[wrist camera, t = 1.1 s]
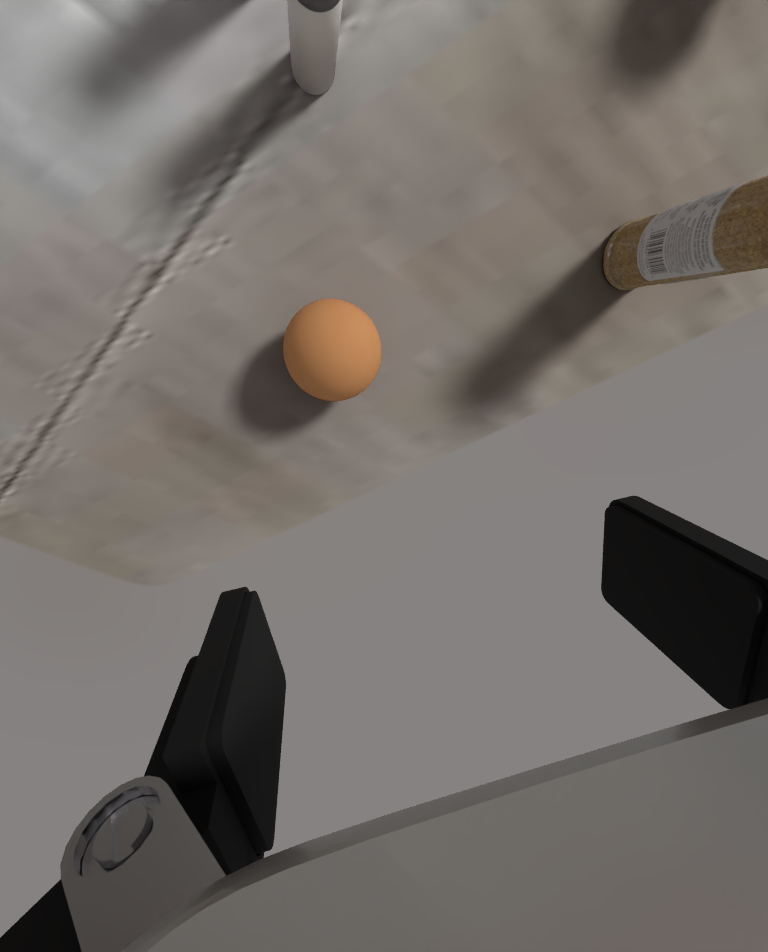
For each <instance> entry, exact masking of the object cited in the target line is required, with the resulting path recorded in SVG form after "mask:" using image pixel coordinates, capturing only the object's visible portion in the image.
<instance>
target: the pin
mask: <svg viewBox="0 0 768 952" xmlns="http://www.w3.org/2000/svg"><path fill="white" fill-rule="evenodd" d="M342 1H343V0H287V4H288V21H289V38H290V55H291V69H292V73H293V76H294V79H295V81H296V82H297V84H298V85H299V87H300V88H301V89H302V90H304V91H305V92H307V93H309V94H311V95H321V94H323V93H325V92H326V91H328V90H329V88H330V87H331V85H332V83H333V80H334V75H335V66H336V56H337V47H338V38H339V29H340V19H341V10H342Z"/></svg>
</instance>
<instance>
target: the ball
mask: <svg viewBox="0 0 768 952" xmlns="http://www.w3.org/2000/svg"><path fill="white" fill-rule="evenodd" d="M283 354H284V360H285V364H286V367H287V369H288V371H289V373H290V375H291V377H292V379H293V380H294V381H295V382H296V384H297V385H298V386H299V387H300V388H301V389H303V390H304V391H305V392H306V393H308V394H310V395H311V396H314V397H316V398H318V399H322V400H327V401H342V400H346V399H349V398H352V397H354V396H356V395H358V394H360V393H361V392H362V391H364V390H365V389H366V388H367V387H368V386H369V385H370V383H371V382H372V381H373V379H374V378H375V376H376V374H377V371H378V369H379V365H380V361H381V343H380V338H379V335H378V332H377V330H376V328H375V326H374V324H373V322H372V321H371V319H370V318H369V317H368V316H367V315H366V314H365V313H364V312H363V311H362V310H361V309H359V308H358V307H356V306H355V305H353V304H351V303H349V302H346V301H343V300H338V299H323V300H318V301H315V302H312V303H310V304H308V305H306V306H305V307H303V308H302V309H301V310H299V311H298V312H297V313H296V314H295V316H294V317H293V318H292V320H291V321H290V323H289V325H288V327H287V329H286V332H285V336H284V342H283Z"/></svg>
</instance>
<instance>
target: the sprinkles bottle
mask: <svg viewBox="0 0 768 952" xmlns="http://www.w3.org/2000/svg"><path fill="white" fill-rule="evenodd" d="M603 267H604V273H605V276H606V278H607V280H608V281H609V283H610V284H611V285H613V286H614V287H615V288H617V289H619V290H633V289H635V288H638V287H642V286H647V285H656V284H671V283H678V282H685V281H692V280H699V279H705V278H708V277H711V276H719V275H726V274H731V273H737V272H745V271H751V270H756V269H762V268H768V176H766V177H762V178H760V179H755V180H751V181H748V182H745V183H742V184H739V185H736V186H733V187H730V188H728V189H725V190H722V191H719V192H716V193H713V194H710V195H707V196H705V197H702V198H699V199H696V200H693V201H690V202H687V203H684V204H681V205H678V206H675V207H673V208H670V209H667V210H665V211H662V212H661V213H659V214H656V215H653V216H650V217H647V218H644V219H641V220H633V221H630V222H627V223H626V224H624V225H622V226H620V227H619V228H618V229H617V230H616V231H615V232H614V234H613V235H612V237H611V238H610V239H609V241H608V244H607V246H606V248H605V251H604V257H603Z"/></svg>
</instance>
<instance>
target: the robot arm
mask: <svg viewBox="0 0 768 952" xmlns="http://www.w3.org/2000/svg"><path fill="white" fill-rule="evenodd" d="M604 524H605V525H604V544H603V564H602V584H601V589H602V594H603V596H604V598H605V600H606V601H607V602H608V603H609V604H610V605H611V606H612V607H613V608H614V609H615V610H616V611H617V612H618V613H620V614H621V615H622V616H623V617H624V618H625V619H626V620H627V621H628V622H630V623H631V624H632V625H633V626H634V627H635V628H636V629H637V630H638V631H640V632H641V633H642V634H643V635H644V636H645V637H646V638H647V639H648V640H650V641H651V642H652V643H653V644H654V645H655V646H656V647H657V648H658V649H659V650H661V651H662V652H663V653H664V654H665V655H666V656H667V657H668V658H669V659H670V660H672V661H673V662H674V663H675V664H676V665H677V666H678V667H679V668H680V669H682V670H683V671H684V672H685V673H686V674H687V675H688V676H689V677H690V678H691V679H693V680H694V681H695V682H696V683H697V684H698V685H699V686H700V687H702V688H703V689H704V690H705V691H706V692H707V693H708V694H709V695H710V696H711V697H712V698H714V699H715V700H716V701H717V702H718V703H719V704H721V705H722V706H723V707H725V708H727V709H730V710H727V711H723V712H720V713H717V714H713V715H710V716H707V717H703V718H700V719H696V720H693V721H690V722H686V723H683V724H680V725H676V726H673V727H670V728H666V729H663V730H660V731H657V732H653V733H650V734H647V735H643V736H640V737H637V738H633V739H630V740H627V741H624V742H620V743H617V744H614V745H610V746H607V747H604V748H601V749H597V750H594V751H591V752H587V753H584V754H581V755H578V756H574V757H571V758H568V759H565V760H562V761H558V762H555V763H551V764H548V765H545V766H542V767H538V768H535V769H532V770H529V771H525V772H522V773H519V774H516V775H513V776H510V777H506V778H503V779H500V780H496V781H493V782H490V783H487V784H484V785H480V786H477V787H474V788H471V789H468V790H464V791H461V792H458V793H455V794H451V795H448V796H446V797H442V798H439V799H436V800H432V801H429V802H426V803H423V804H419V805H416V806H413V807H410V808H407V809H403V810H400V811H397V812H394V813H391V814H388V815H385V816H382V817H379V818H376V819H373V820H370V821H367V822H364V823H361V824H358V825H355V826H352V827H349V828H346V829H343V830H340V831H337V832H334V833H331V834H328V835H325V836H322V837H319V838H316V839H313V840H310V841H307V842H304V843H301V844H299V845H296V846H294V847H291V848H289V849H286V850H283V851H281V852H278V853H276V854H273V855H271V856H268V857H266V858H264V852H265V851H268V850H271V849H272V847H273V842H274V833H275V820H276V807H277V794H278V782H279V769H280V756H281V755H280V754H281V743H282V730H283V716H284V705H285V692H286V691H285V690H286V680H285V674H284V670H283V667H282V664H281V661H280V658H279V655H278V653H277V649H276V646H275V643H274V641H273V637H272V635H271V632H270V629H269V626H268V623H267V620H266V617H265V614H264V611H263V608H262V605H261V602H260V599H259V596H258V594H257V592H256V591H252V592H249V590H248V588H247V587H242V588H238V589H234V590H230V591H225V592H222V593H221V595H220V597H219V600H218V603H217V605H216V608H215V611H214V614H213V617H212V619H211V622H210V625H209V628H208V631H207V633H206V636H205V639H204V642H203V644H202V647H201V650H200V653H199V655H198V656H195V657H193V658H191V659H190V660H189V662H188V664H187V666H186V668H185V671H184V673H183V676H182V679H181V681H180V684H179V686H178V689H177V692H176V694H175V697H174V700H173V702H172V705H171V707H170V710H169V713H168V715H167V718H166V720H165V723H164V726H163V728H162V731H161V734H160V736H159V739H158V741H157V744H156V746H155V749H154V752H153V754H152V757H151V759H150V762H149V765H148V767H147V770H146V772H145V775H144V777H139V778H135V779H133V780H131V781H128V782H126V783H124V784H122V785H120V786H119V787H117V788H116V789H114V790H113V791H112V792H110V793H109V794H108V795H106V796H105V797H103V798H102V799H101V800H100V801H99V802H98V803H97V804H96V805H95V806H94V807H93V808H92V809H91V810H90V811H89V812H88V813H87V815H86V816H85V817H84V819H83V820H82V821H81V823H80V824H79V825H78V826H77V828H76V829H75V831H74V833H73V834H72V836H71V838H70V840H69V842H68V844H67V845H66V848H65V851H64V855H63V858H62V861H61V880H60V881H59V882H58V883H56V884H55V885H54V886H53V887H52V888H51V889H50V890H49V891H48V892H47V893H46V894H45V895H44V896H43V897H42V898H41V899H40V900H39V901H38V902H37V903H36V904H35V905H34V906H33V907H32V908H31V909H30V910H29V911H28V912H27V913H26V914H25V915H23V916H22V917H21V918H20V919H19V920H18V921H17V922H16V923H15V924H14V925H13V926H12V927H11V928H10V929H9V930H8V931H7V932H6V933H5V934H4V935H3V936H2V937H1V938H0V952H768V560H766V559H764V558H762V557H760V556H758V555H756V554H754V553H752V552H750V551H748V550H746V549H744V548H742V547H740V546H738V545H736V544H734V543H732V542H729V541H728V540H725V539H723V538H721V537H719V536H717V535H715V534H713V533H711V532H709V531H707V530H705V529H703V528H701V527H699V526H697V525H695V524H693V523H691V522H689V521H687V520H685V519H683V518H681V517H679V516H677V515H675V514H673V513H671V512H669V511H666V510H665V509H663V508H661V507H658V506H656V505H654V504H652V503H650V502H648V501H646V500H644V499H642V498H640V497H638V496H630V497H626V498H621V499H617V500H613V501H612V502H611V503H610V505H609V507H608V508H607V509H606V510H605V522H604Z"/></svg>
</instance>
